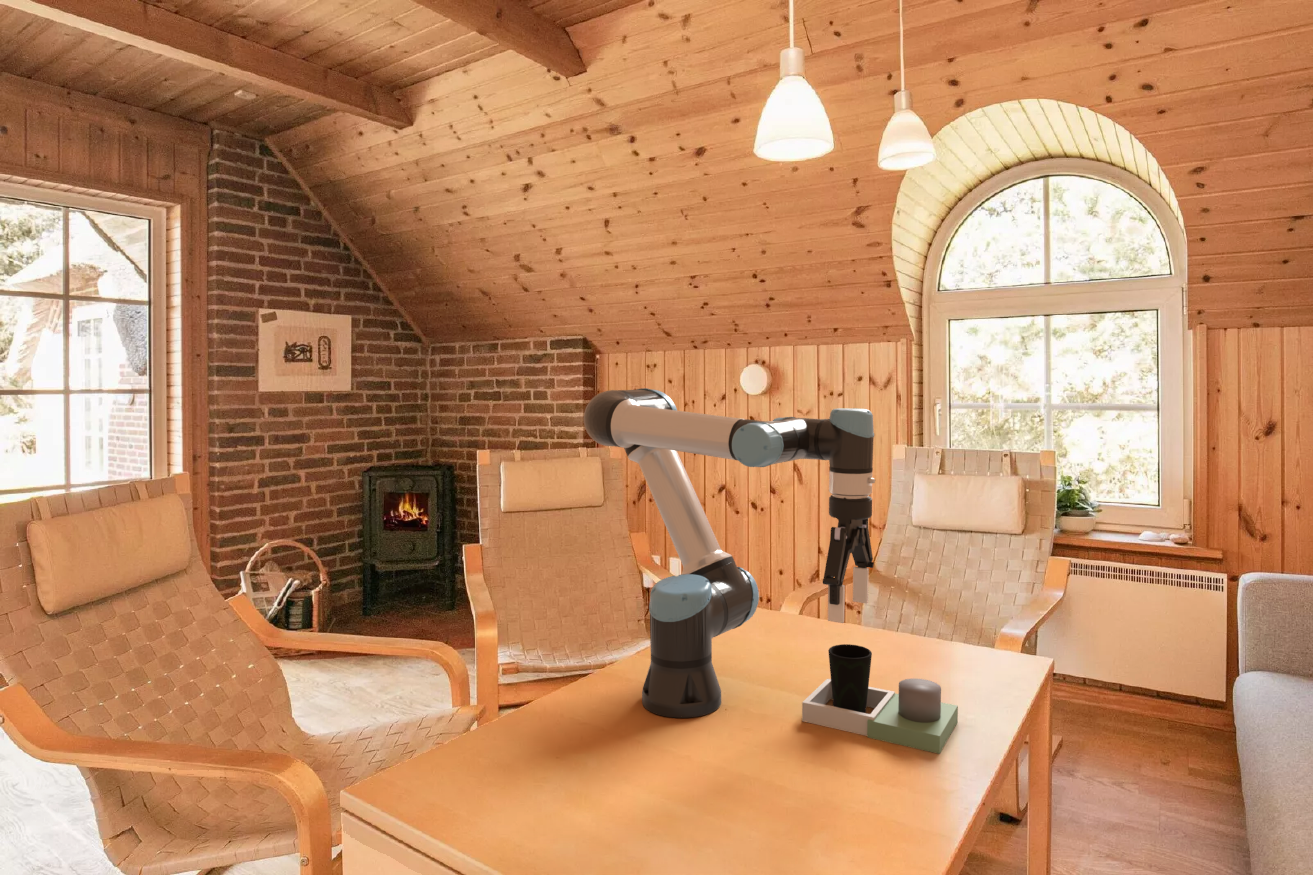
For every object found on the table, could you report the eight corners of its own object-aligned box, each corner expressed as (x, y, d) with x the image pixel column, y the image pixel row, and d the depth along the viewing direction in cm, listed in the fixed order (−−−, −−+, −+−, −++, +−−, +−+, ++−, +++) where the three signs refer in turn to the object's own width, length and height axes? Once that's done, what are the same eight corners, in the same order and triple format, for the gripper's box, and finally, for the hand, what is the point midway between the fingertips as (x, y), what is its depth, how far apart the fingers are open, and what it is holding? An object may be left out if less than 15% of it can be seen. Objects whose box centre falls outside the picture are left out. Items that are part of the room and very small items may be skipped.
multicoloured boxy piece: (801, 722, 145) (801, 678, 144) (828, 695, 157) (828, 655, 156) (939, 753, 132) (940, 706, 132) (957, 721, 144) (958, 678, 144)
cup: (872, 725, 143) (873, 659, 142) (828, 722, 145) (828, 657, 144) (869, 708, 151) (870, 645, 150) (827, 705, 152) (828, 643, 151)
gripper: (848, 507, 132) (846, 634, 134) (891, 487, 153) (888, 597, 155) (804, 503, 136) (803, 626, 138) (852, 484, 157) (850, 592, 159)
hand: (848, 611), depth 146 cm, fingers open, 13 cm apart
